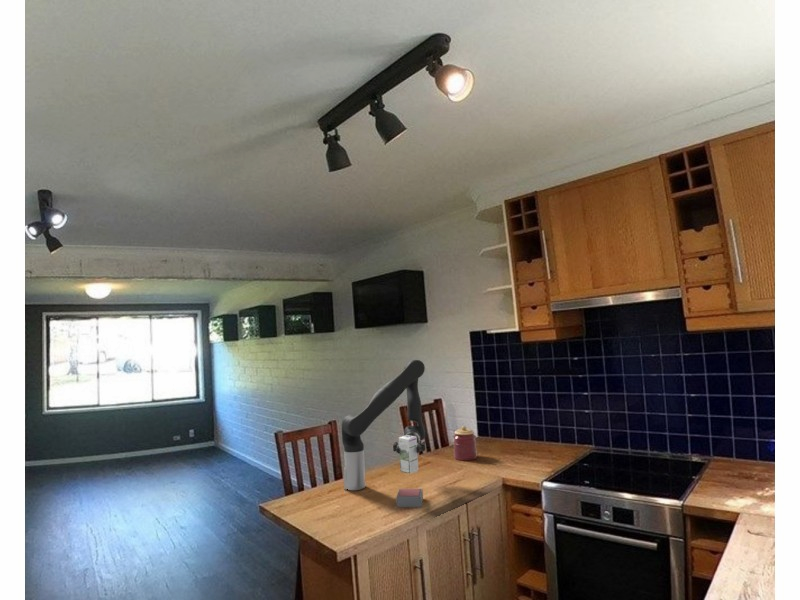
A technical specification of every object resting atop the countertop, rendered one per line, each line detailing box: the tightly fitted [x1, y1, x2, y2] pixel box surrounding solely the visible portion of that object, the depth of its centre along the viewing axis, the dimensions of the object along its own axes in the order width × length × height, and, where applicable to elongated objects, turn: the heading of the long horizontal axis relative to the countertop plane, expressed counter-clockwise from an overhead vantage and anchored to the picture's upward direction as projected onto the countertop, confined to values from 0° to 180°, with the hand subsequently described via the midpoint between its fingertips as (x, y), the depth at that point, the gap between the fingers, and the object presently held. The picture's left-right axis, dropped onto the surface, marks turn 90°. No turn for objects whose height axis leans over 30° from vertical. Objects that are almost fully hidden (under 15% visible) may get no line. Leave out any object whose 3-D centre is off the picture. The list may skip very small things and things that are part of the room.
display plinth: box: [396, 488, 424, 508], centre depth 192 cm, size 10×10×4 cm
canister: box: [452, 425, 478, 461], centre depth 257 cm, size 13×13×18 cm
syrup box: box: [398, 435, 419, 475], centre depth 193 cm, size 6×6×14 cm
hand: (407, 450), depth 192 cm, fingers closed on syrup box, 7 cm apart
